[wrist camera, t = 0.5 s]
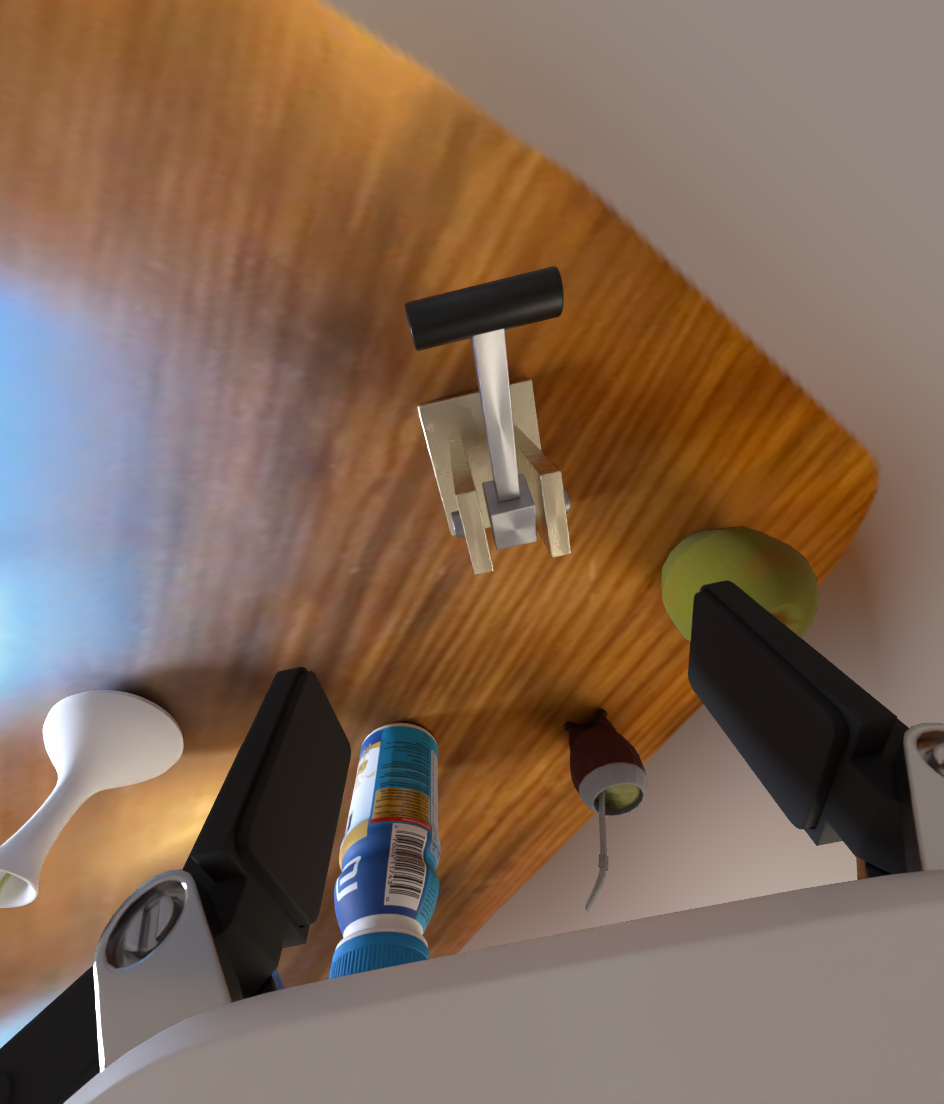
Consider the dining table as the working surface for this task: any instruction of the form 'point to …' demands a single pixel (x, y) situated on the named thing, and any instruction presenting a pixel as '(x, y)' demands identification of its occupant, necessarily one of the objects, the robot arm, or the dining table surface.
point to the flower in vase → (87, 772)
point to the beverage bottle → (389, 853)
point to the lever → (493, 376)
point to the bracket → (467, 465)
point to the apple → (740, 575)
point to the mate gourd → (605, 777)
